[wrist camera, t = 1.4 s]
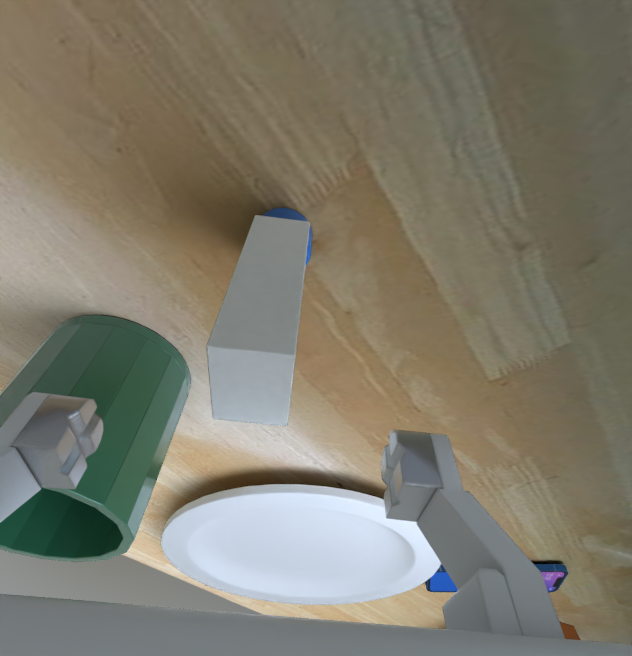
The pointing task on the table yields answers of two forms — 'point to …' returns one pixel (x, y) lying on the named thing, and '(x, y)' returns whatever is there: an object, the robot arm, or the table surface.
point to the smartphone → (550, 572)
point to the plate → (298, 545)
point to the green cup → (117, 439)
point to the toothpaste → (260, 322)
